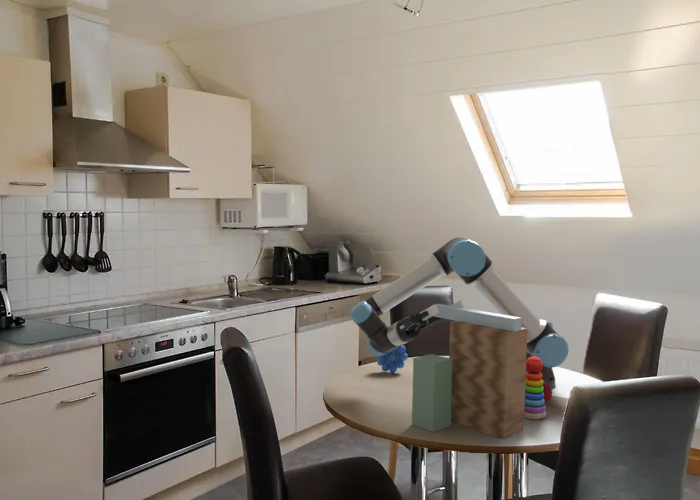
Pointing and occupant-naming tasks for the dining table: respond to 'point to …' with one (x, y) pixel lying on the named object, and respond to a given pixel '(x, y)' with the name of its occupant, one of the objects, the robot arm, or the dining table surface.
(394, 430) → the dining table surface
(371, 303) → the robot arm
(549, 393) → the onion
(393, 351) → the blue bumpy round piece
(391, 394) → the dining table surface
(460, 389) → the stand
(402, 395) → the dining table surface
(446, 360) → the post
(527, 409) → the stacking toy
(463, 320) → the rod
